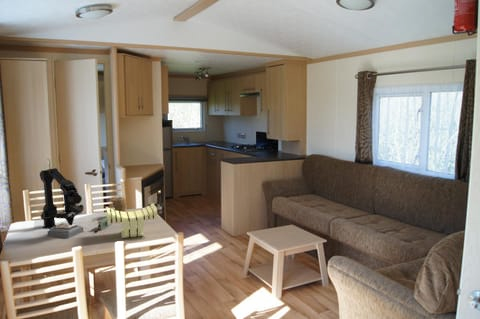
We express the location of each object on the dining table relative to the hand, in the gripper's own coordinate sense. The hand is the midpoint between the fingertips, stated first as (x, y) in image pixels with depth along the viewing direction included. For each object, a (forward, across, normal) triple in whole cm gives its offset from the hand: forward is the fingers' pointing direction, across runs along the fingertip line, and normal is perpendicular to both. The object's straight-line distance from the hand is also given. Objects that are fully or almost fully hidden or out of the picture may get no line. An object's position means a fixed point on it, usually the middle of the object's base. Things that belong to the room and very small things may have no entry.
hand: (70, 225), depth 259 cm
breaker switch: (0, 0, +4) cm, 4 cm away
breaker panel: (+6, 0, +4) cm, 7 cm away
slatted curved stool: (+7, +11, -38) cm, 40 cm away
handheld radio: (+7, +19, -12) cm, 23 cm away
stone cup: (+6, +43, -9) cm, 44 cm away
